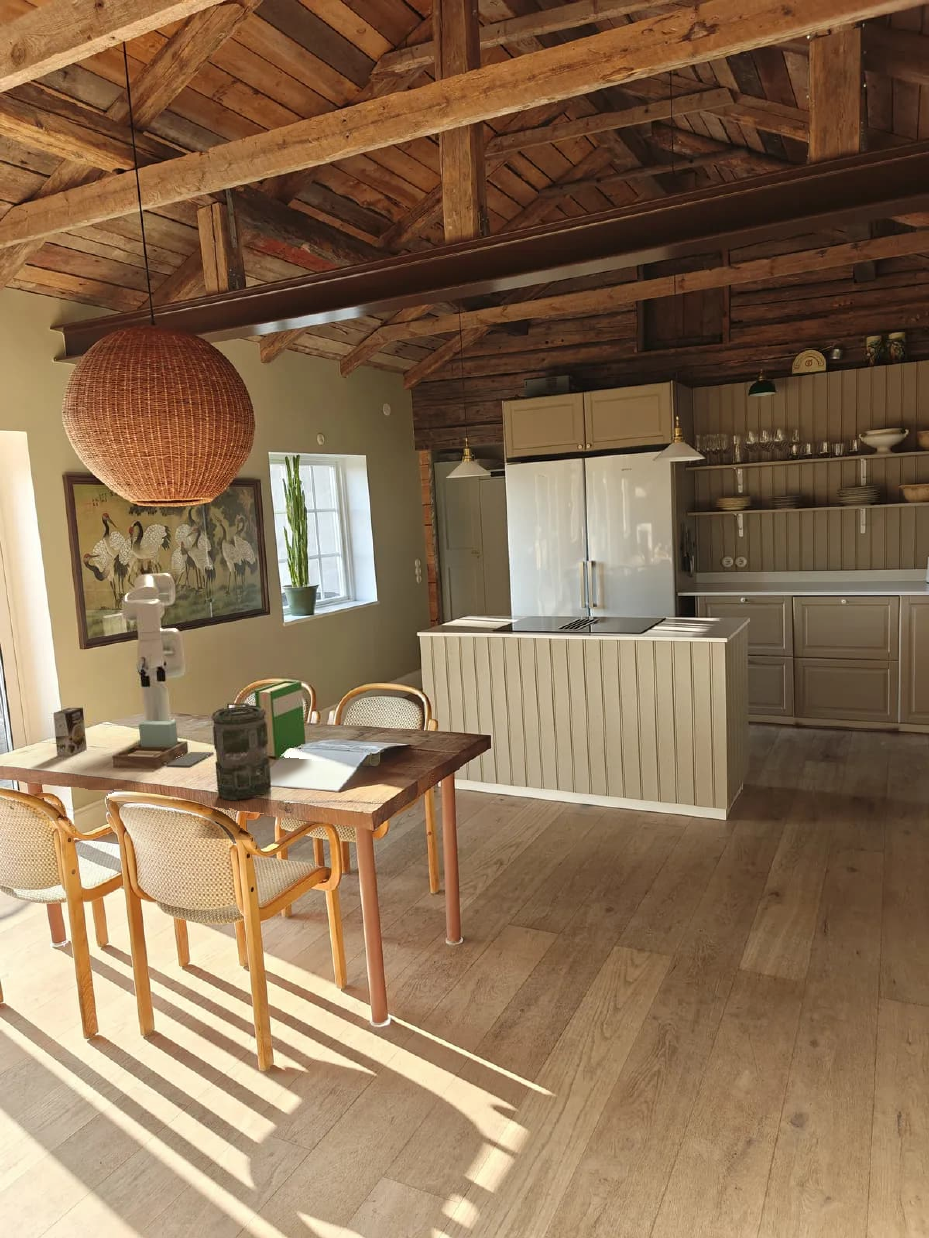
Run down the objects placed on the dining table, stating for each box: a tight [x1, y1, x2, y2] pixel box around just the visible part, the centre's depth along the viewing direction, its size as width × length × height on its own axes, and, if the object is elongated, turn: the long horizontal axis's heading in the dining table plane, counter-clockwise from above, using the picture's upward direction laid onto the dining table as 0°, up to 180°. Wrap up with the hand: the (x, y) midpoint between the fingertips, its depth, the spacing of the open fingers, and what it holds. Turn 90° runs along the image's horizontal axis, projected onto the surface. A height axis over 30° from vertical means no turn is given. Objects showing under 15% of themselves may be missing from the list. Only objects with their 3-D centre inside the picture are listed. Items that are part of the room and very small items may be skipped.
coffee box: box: [52, 707, 87, 757], centre depth 320 cm, size 9×6×16 cm
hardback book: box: [254, 679, 306, 759], centre depth 308 cm, size 18×7×24 cm, turn 157°
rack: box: [111, 740, 189, 770], centre depth 306 cm, size 20×17×4 cm
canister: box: [211, 702, 272, 801], centre depth 263 cm, size 16×16×28 cm
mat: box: [165, 751, 214, 768], centre depth 304 cm, size 16×9×1 cm, turn 167°
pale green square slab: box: [138, 720, 179, 747], centre depth 311 cm, size 4×12×12 cm, turn 77°
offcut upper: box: [127, 751, 162, 756], centre depth 303 cm, size 6×10×2 cm, turn 75°
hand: (153, 684), depth 308 cm, fingers open, 9 cm apart
